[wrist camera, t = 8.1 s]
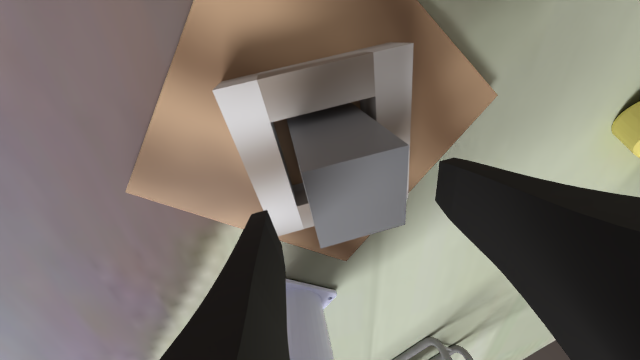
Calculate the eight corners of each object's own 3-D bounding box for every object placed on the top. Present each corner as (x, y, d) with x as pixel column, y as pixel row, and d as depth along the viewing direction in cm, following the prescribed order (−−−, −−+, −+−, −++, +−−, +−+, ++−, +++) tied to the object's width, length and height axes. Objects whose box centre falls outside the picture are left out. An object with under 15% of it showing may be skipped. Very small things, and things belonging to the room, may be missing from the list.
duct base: (343, 253, 23) (354, 284, 20) (132, 183, 15) (101, 218, 12) (486, 92, 17) (532, 103, 14) (260, -165, 9) (258, -262, 6)
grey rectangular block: (354, 158, 16) (405, 224, 10) (300, 171, 16) (320, 248, 10) (349, 101, 14) (408, 145, 8) (285, 116, 14) (301, 172, 8)
